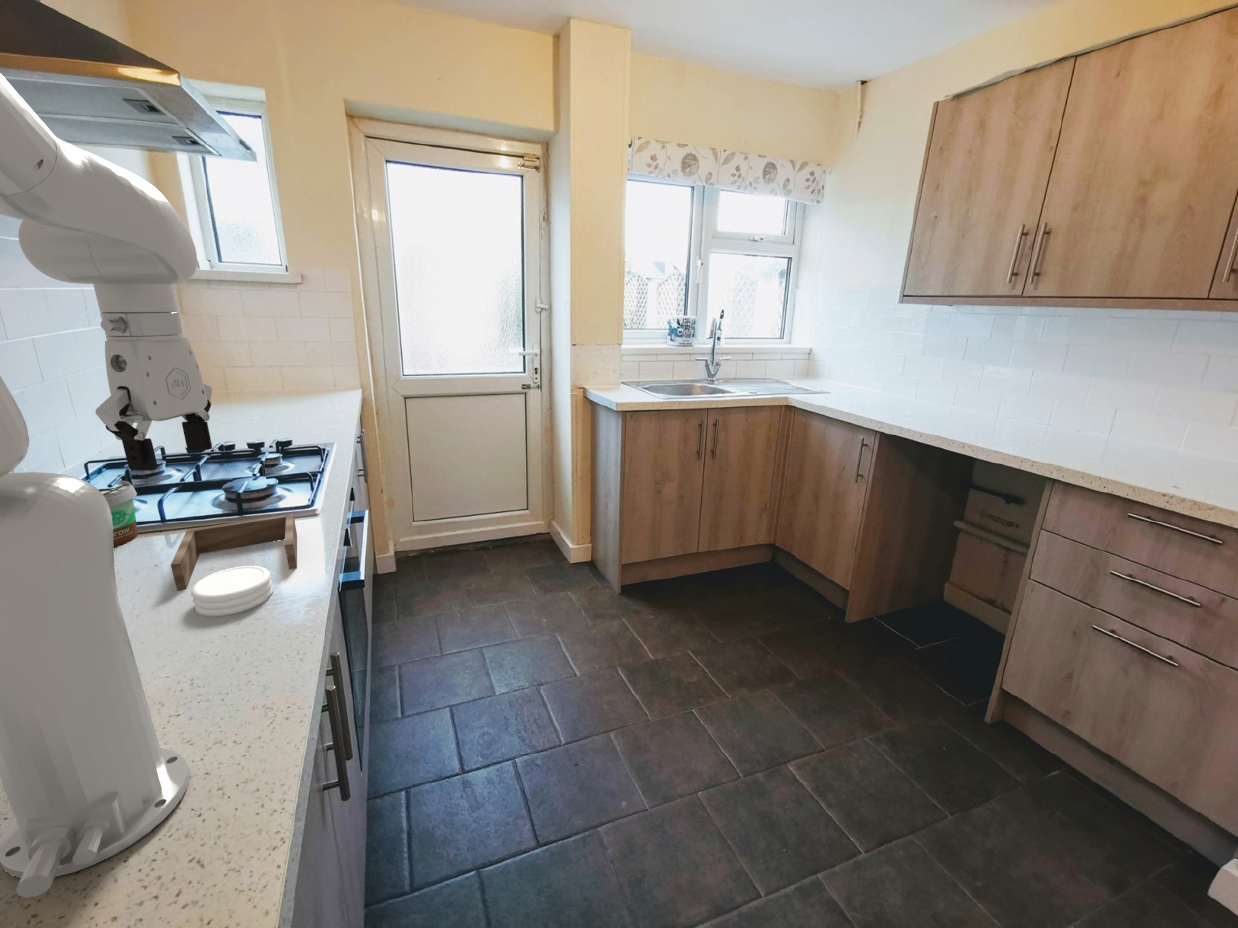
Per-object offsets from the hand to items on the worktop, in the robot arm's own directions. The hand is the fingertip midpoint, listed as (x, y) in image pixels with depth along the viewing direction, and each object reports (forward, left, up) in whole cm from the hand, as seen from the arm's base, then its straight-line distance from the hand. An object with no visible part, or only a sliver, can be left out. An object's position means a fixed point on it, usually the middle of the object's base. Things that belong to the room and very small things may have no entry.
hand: (173, 458), depth 75 cm
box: (+17, -3, -23) cm, 29 cm away
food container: (+37, +18, -24) cm, 47 cm away
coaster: (+3, -3, -24) cm, 24 cm away
